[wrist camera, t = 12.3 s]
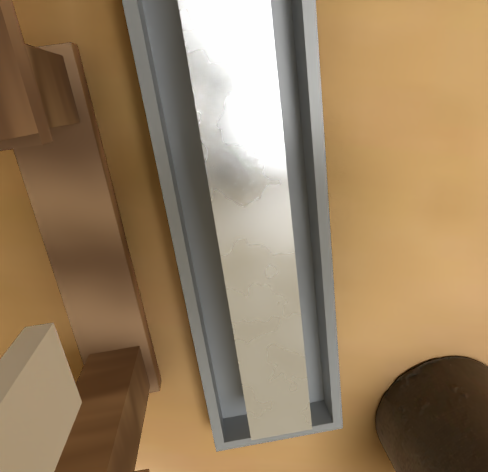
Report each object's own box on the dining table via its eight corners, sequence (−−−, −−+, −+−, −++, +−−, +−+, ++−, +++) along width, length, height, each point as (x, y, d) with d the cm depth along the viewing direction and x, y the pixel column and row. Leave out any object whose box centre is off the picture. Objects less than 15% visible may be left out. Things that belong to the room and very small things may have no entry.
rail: (176, -19, 18) (169, -47, 15) (253, -30, 18) (264, -58, 15) (245, 396, 26) (251, 440, 23) (298, 386, 26) (312, 429, 23)
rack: (-35, 60, 19) (-564, -27, 6) (104, 41, 19) (-107, -81, 6) (79, 394, 26) (-49, 699, 13) (181, 377, 26) (158, 656, 13)
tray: (116, -64, 18) (103, -88, 15) (294, -85, 18) (308, -113, 16) (215, 421, 27) (216, 451, 25) (331, 400, 28) (343, 428, 25)
